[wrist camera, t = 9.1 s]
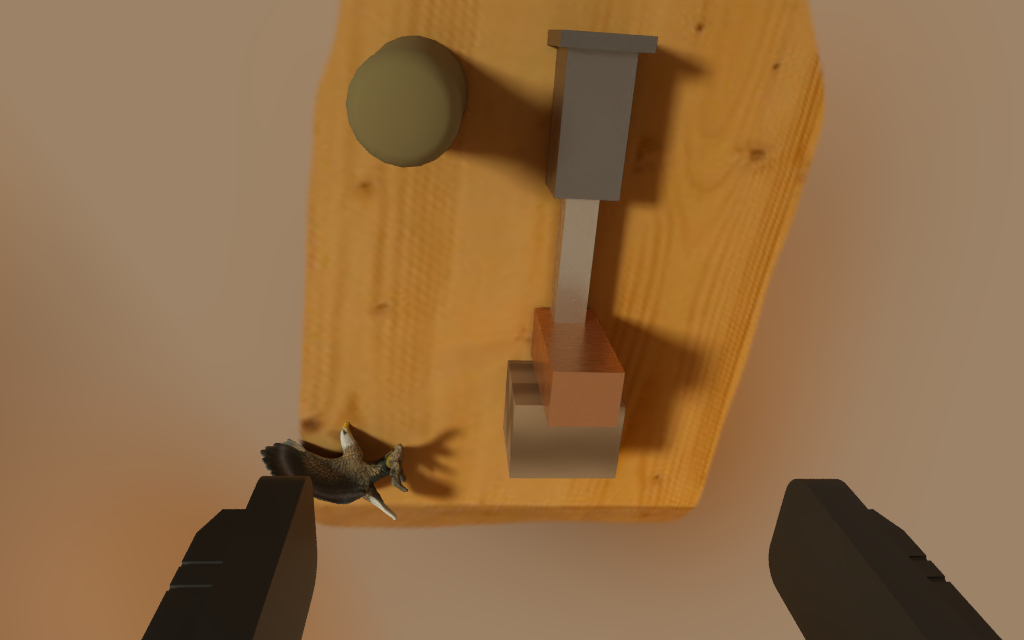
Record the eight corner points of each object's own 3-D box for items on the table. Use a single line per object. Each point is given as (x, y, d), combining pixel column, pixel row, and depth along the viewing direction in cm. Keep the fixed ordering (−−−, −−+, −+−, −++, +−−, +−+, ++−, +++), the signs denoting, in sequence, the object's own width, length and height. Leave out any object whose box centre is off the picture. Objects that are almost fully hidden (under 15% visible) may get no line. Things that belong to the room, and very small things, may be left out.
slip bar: (548, 152, 40) (572, 184, 32) (612, 156, 40) (652, 187, 32) (526, 407, 47) (541, 487, 39) (581, 408, 47) (607, 487, 39)
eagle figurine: (394, 391, 45) (256, 415, 43) (411, 491, 41) (261, 521, 39) (398, 437, 51) (278, 459, 49) (413, 526, 48) (284, 554, 46)
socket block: (508, 360, 46) (515, 405, 40) (606, 362, 47) (626, 406, 41) (503, 427, 48) (509, 478, 43) (597, 428, 49) (614, 478, 43)
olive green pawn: (453, 24, 37) (452, 21, 27) (478, 131, 39) (486, 166, 29) (349, 48, 37) (310, 56, 27) (381, 154, 40) (356, 196, 30)
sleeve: (548, 29, 38) (561, 29, 33) (633, 35, 38) (658, 36, 33) (536, 183, 41) (546, 202, 36) (614, 186, 42) (634, 206, 37)
